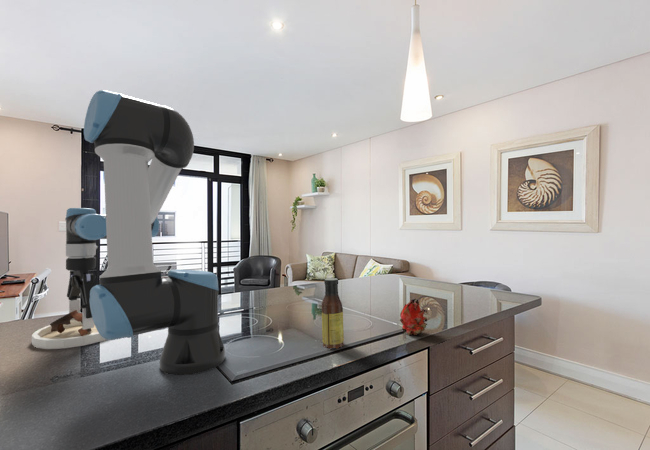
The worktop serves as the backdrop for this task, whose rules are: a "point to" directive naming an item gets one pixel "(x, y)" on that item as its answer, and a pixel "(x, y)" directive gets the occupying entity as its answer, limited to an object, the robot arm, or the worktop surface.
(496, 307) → the worktop surface
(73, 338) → the shallow round plate
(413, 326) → the dragon fruit
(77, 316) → the brown jagged angular piece
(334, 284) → the sauce bottle
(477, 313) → the worktop surface
